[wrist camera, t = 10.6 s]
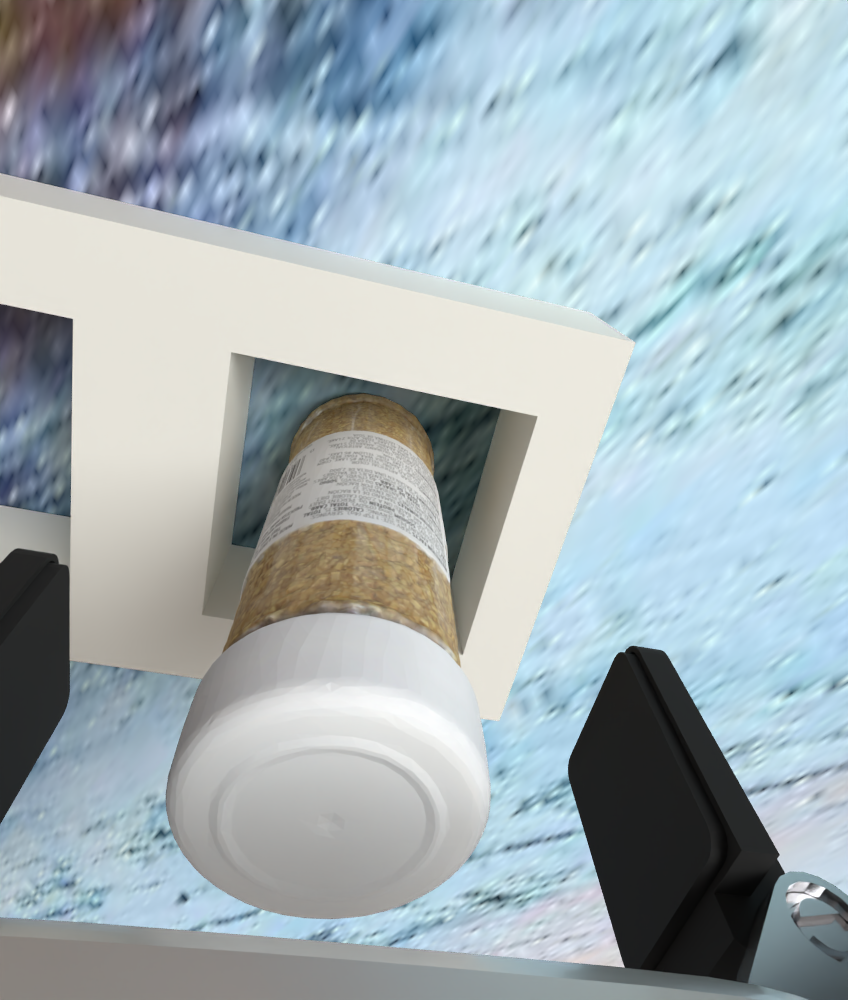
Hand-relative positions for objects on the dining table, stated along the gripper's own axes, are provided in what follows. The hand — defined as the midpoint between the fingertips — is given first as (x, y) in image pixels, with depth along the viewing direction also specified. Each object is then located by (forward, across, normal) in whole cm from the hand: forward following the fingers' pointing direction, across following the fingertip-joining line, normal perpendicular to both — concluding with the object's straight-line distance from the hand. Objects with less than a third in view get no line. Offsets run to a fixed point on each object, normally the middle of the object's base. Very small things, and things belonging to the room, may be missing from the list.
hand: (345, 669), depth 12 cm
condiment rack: (+11, +5, +1) cm, 12 cm away
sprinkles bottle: (+11, 0, +1) cm, 11 cm away
